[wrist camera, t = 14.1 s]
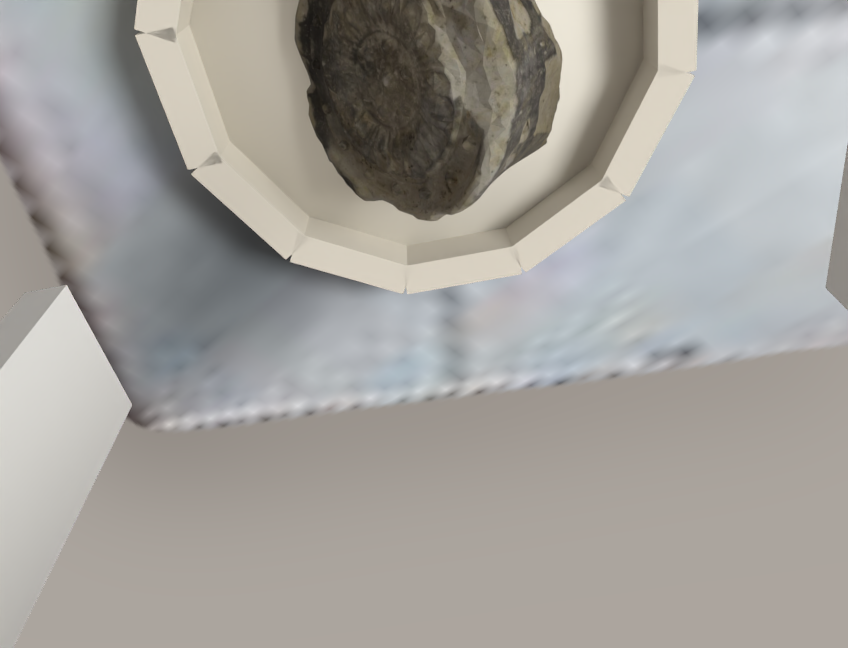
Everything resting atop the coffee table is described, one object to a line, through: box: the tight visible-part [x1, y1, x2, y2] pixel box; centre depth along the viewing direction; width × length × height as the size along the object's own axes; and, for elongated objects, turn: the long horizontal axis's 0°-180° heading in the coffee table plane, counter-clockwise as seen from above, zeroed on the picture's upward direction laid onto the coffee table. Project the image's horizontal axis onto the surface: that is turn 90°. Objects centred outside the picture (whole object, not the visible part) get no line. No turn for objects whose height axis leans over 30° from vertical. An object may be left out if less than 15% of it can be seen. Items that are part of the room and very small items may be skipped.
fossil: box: [294, 0, 562, 221], centre depth 26 cm, size 11×9×10 cm
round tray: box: [134, 0, 698, 294], centre depth 28 cm, size 21×21×3 cm
